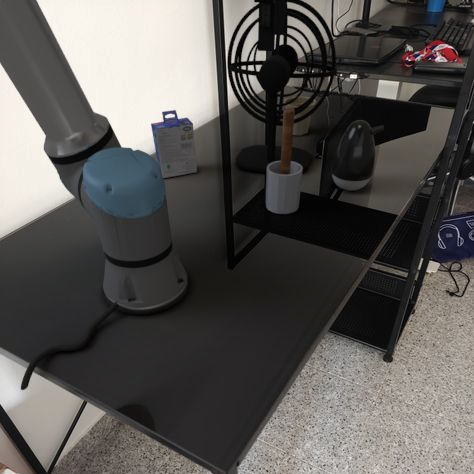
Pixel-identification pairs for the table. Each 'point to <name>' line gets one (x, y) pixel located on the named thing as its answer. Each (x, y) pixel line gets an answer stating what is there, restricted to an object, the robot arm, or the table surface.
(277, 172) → the white plastic cup
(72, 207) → the table surface
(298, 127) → the flower pot
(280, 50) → the desk fan
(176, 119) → the ink cartridge box
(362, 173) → the pump dispenser
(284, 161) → the brush
